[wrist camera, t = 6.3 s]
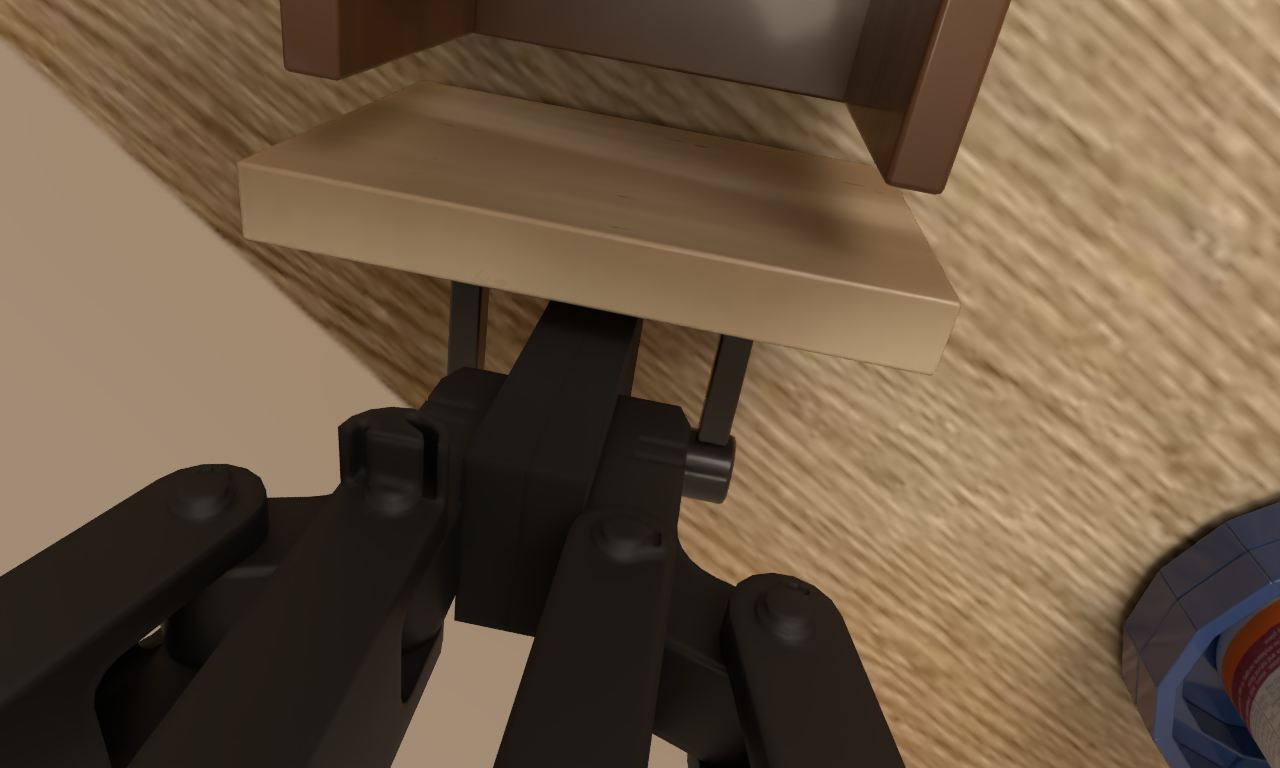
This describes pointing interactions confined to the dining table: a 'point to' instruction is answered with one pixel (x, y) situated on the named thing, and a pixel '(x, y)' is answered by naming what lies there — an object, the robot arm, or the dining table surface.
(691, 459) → the drawer
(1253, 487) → the dining table surface
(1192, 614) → the bowl
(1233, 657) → the pill bottle
